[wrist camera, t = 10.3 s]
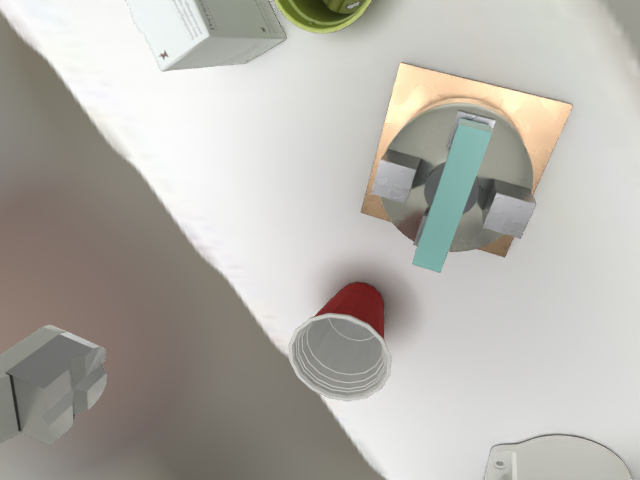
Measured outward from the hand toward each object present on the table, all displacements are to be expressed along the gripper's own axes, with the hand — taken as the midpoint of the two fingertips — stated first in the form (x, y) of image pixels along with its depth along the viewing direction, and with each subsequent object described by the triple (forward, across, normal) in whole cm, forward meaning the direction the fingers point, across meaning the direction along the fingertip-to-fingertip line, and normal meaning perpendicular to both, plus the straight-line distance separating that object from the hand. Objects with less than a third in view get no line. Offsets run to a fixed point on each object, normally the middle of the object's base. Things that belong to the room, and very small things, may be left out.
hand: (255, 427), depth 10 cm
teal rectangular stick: (+33, -4, +3) cm, 33 cm away
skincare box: (+41, +21, -6) cm, 47 cm away
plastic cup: (+41, +1, +23) cm, 47 cm away
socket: (+41, -4, +3) cm, 41 cm away
